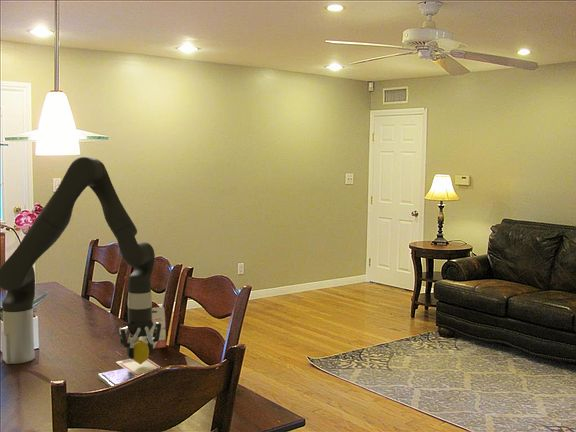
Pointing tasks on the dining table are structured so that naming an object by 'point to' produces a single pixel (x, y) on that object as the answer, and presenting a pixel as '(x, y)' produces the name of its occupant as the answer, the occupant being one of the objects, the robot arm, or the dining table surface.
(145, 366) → the marked sheet
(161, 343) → the ink cartridge box
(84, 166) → the robot arm
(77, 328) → the dining table surface
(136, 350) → the lemon
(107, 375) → the ink pad
